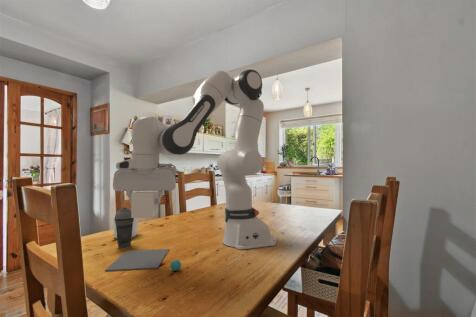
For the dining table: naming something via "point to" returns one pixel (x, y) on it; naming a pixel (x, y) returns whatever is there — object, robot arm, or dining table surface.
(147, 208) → the white upright block
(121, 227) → the beverage cup
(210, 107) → the robot arm
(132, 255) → the mat
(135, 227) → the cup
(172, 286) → the dining table surface
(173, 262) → the marble
